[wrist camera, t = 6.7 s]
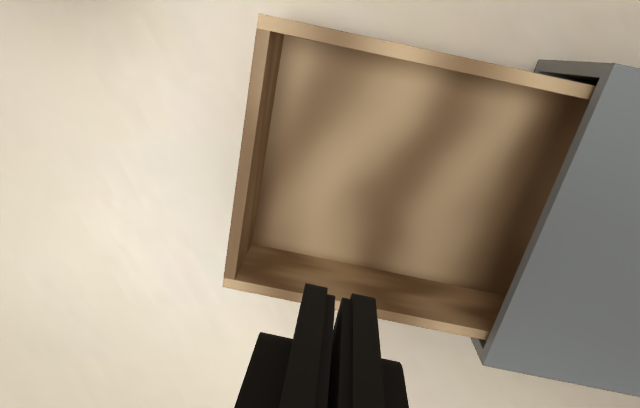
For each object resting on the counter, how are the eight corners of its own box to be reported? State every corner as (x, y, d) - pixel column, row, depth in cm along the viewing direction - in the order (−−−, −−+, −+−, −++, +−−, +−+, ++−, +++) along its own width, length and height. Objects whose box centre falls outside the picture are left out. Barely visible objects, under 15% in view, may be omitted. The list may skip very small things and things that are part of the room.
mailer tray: (610, 92, 23) (680, 104, 18) (517, 301, 28) (552, 353, 23) (276, 20, 22) (258, 13, 18) (243, 245, 28) (222, 286, 23)
